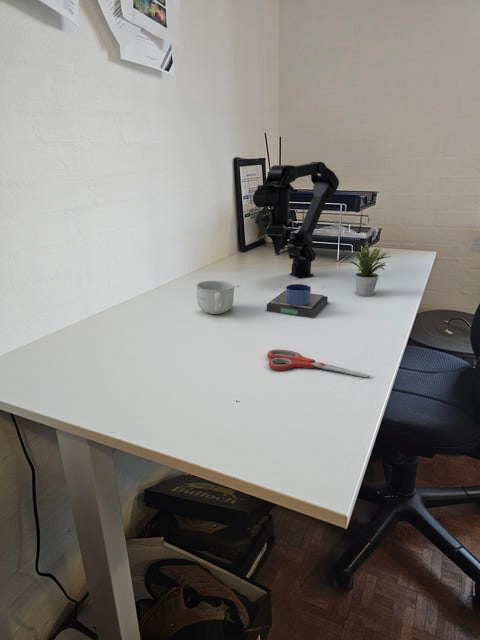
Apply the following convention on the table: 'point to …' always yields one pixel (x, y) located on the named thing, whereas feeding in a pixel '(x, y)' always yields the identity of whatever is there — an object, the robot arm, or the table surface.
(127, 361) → the table surface
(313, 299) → the scale pan
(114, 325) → the table surface
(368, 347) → the table surface
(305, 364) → the scissors
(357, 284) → the house plant
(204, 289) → the teacup
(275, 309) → the scale
